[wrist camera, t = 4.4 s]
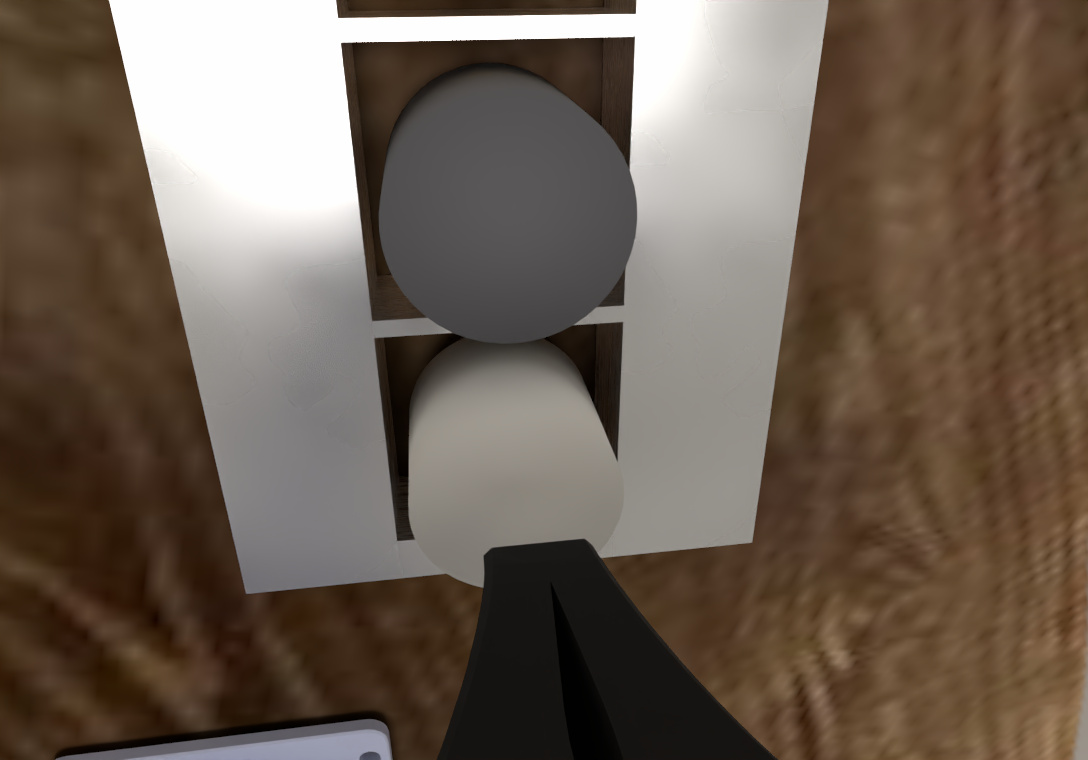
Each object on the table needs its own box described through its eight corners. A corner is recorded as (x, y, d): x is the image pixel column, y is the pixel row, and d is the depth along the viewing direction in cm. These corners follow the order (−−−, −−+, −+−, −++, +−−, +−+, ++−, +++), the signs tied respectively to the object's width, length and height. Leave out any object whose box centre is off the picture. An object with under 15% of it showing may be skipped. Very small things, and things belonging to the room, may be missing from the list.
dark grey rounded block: (591, 267, 14) (631, 336, 12) (395, 277, 14) (391, 351, 11) (595, 60, 13) (644, 84, 10) (375, 65, 12) (364, 93, 10)
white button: (586, 478, 16) (620, 579, 14) (416, 494, 16) (417, 600, 13) (589, 324, 15) (628, 402, 12) (401, 336, 14) (398, 420, 12)
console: (716, 481, 18) (752, 542, 16) (265, 523, 17) (245, 594, 15) (812, -389, 11) (893, -460, 10) (70, -426, 10) (-11, -517, 8)
